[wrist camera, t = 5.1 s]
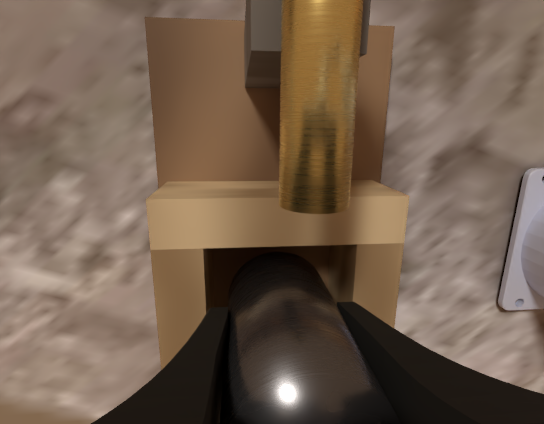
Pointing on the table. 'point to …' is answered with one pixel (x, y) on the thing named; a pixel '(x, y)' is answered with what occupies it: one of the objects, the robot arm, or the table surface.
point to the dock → (256, 172)
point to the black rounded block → (293, 351)
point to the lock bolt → (318, 103)
